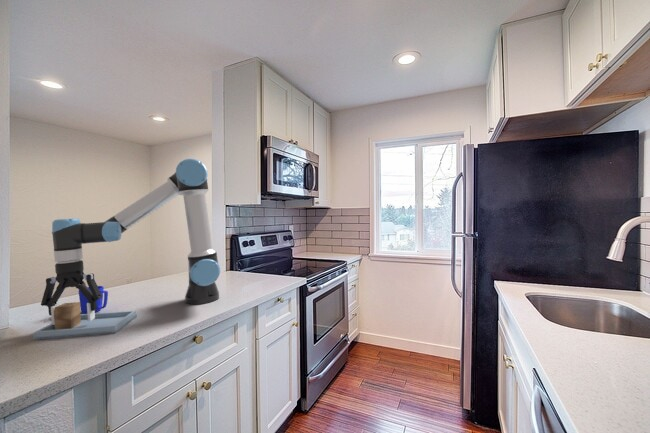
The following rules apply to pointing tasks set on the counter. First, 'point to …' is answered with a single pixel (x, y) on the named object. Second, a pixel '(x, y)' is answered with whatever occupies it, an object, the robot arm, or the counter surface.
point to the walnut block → (67, 315)
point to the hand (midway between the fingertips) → (74, 321)
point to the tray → (89, 325)
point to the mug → (99, 302)
